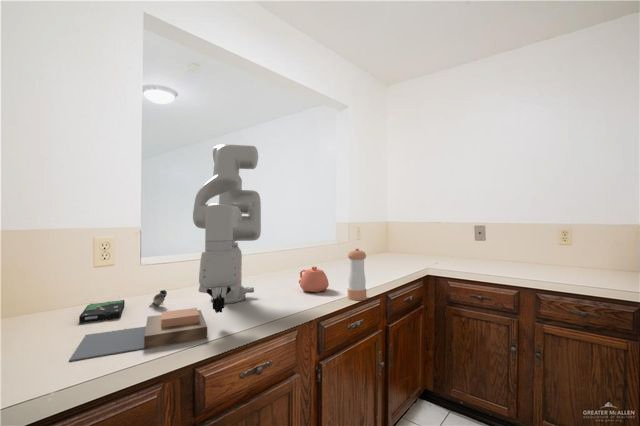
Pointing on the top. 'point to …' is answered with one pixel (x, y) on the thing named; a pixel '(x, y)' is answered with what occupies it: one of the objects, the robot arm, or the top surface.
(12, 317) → the top surface
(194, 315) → the block
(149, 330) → the block
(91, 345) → the mat
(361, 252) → the pepper shaker
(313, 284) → the sugar bowl
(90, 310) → the disk drive
